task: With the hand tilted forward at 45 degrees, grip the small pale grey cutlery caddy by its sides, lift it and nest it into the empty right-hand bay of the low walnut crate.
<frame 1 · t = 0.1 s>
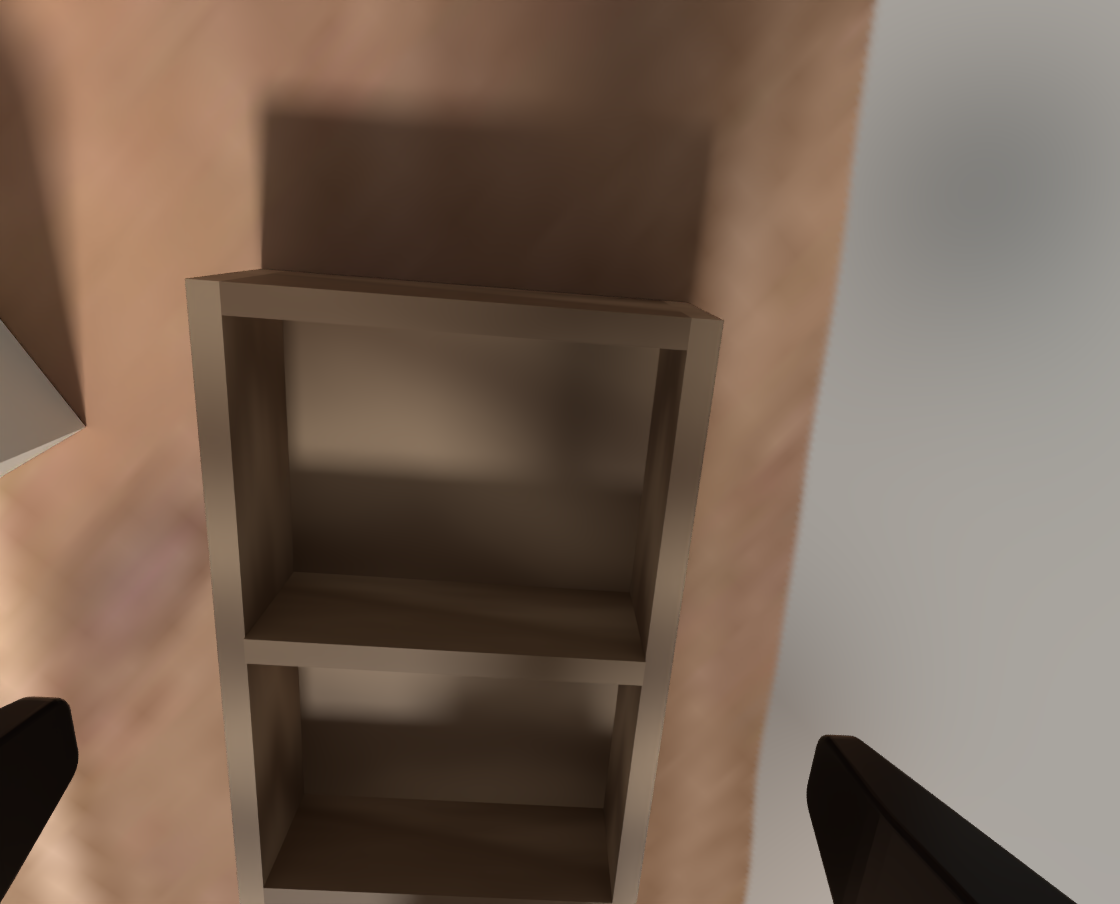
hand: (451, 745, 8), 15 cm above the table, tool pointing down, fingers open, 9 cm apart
crate: (465, 578, 24), on the table
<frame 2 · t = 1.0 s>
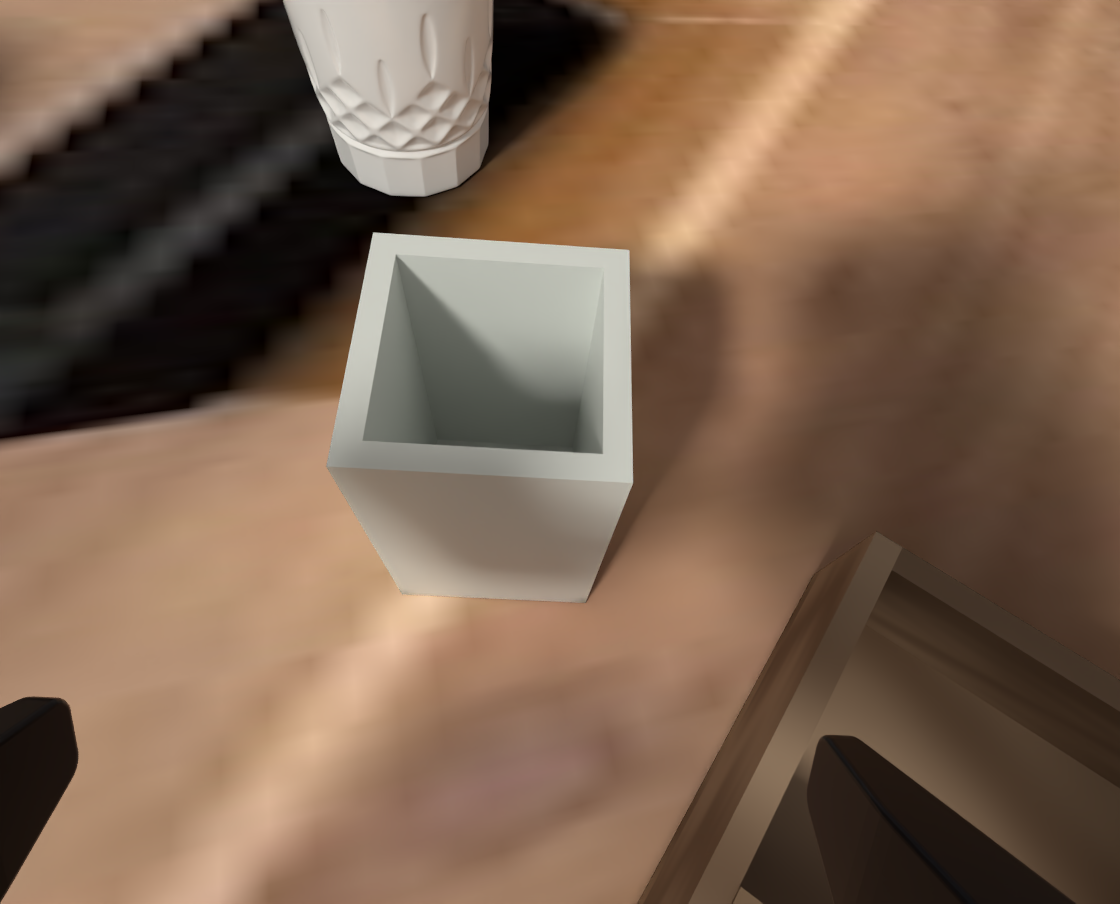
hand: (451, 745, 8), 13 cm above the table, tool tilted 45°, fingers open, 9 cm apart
white cup: (414, 149, 31), on the table
caddy: (500, 512, 24), on the table
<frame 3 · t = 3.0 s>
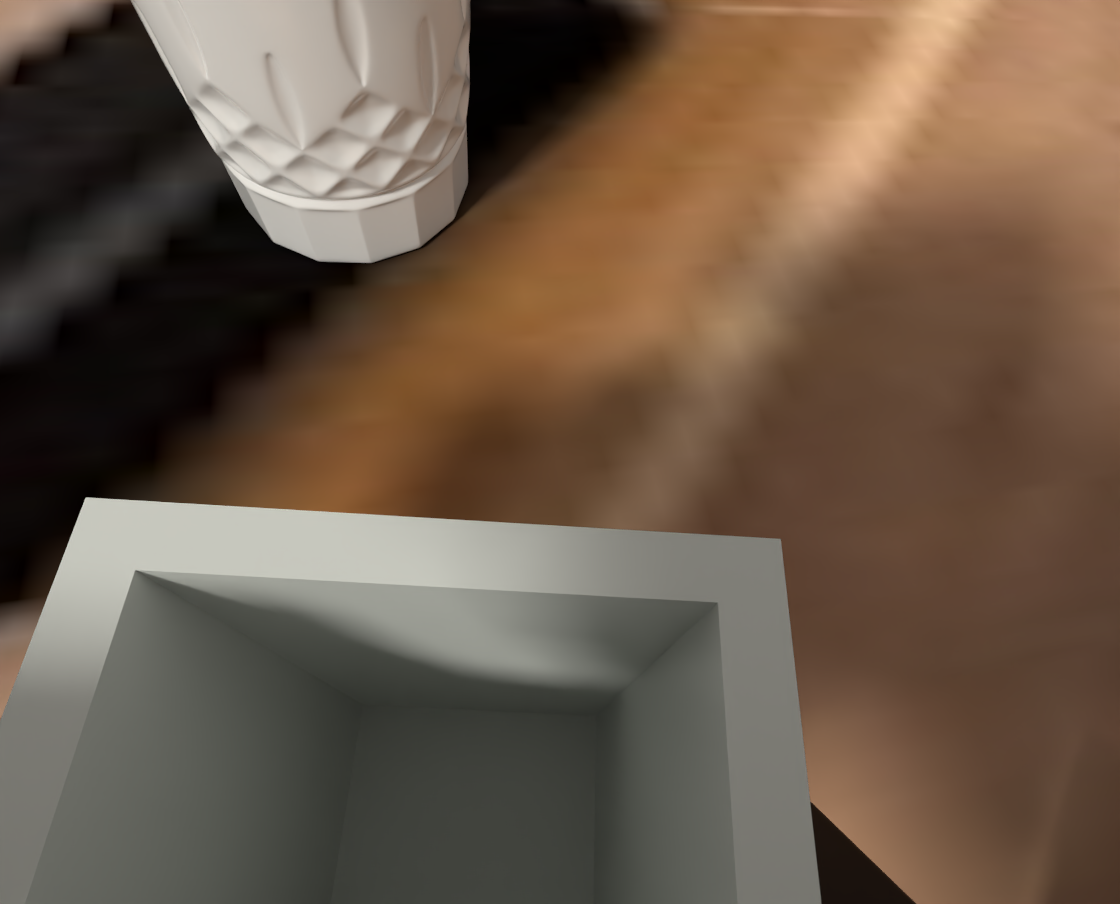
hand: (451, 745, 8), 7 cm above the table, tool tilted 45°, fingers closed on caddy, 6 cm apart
white cup: (360, 189, 21), on the table
caddy: (470, 842, 13), on the table, touching gripper
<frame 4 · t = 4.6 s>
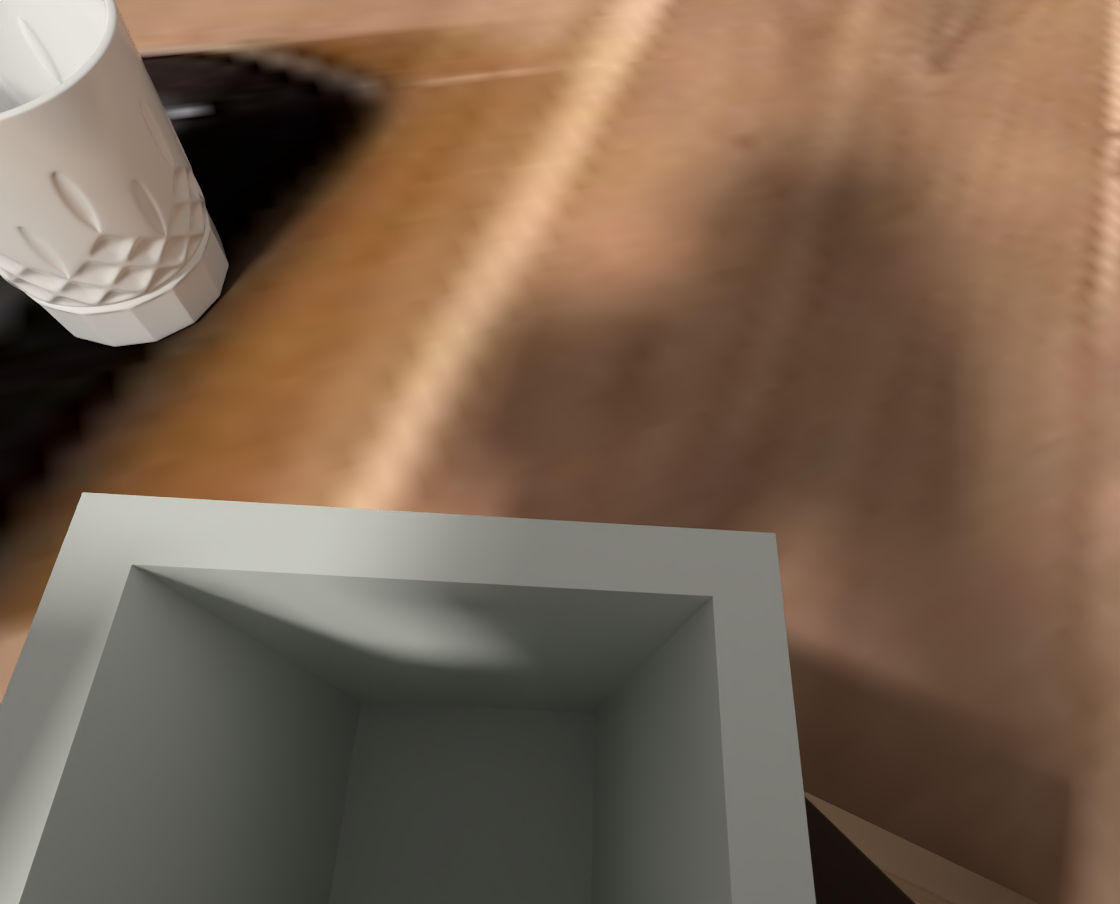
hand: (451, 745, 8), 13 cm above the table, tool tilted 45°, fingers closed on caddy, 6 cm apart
white cup: (144, 281, 27), on the table
caddy: (468, 839, 13), point 7 cm above the table, touching gripper
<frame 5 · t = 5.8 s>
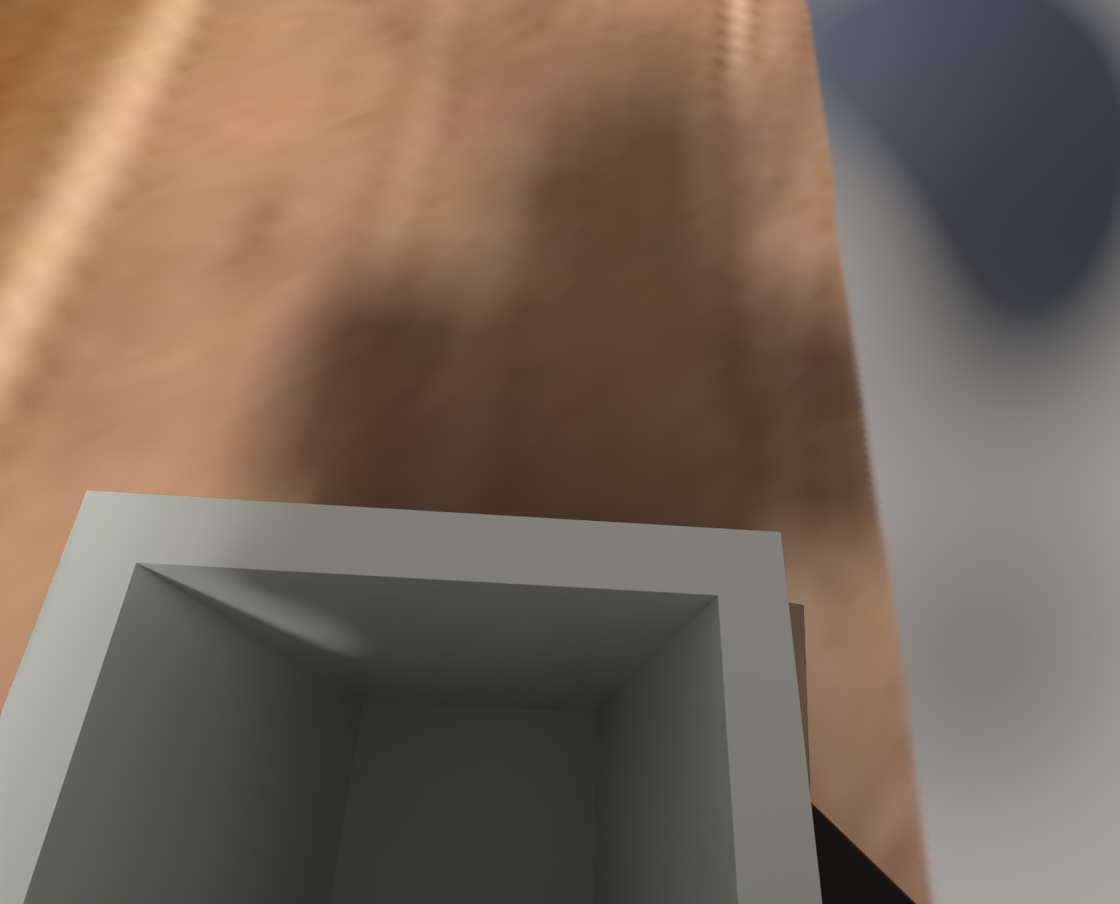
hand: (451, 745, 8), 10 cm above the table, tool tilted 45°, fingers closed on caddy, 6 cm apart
caddy: (470, 839, 13), point 4 cm above the table, touching gripper
when the fingers open (8 cm above the table, at t = 6.6 s): caddy drops 1 cm, resting on crate.
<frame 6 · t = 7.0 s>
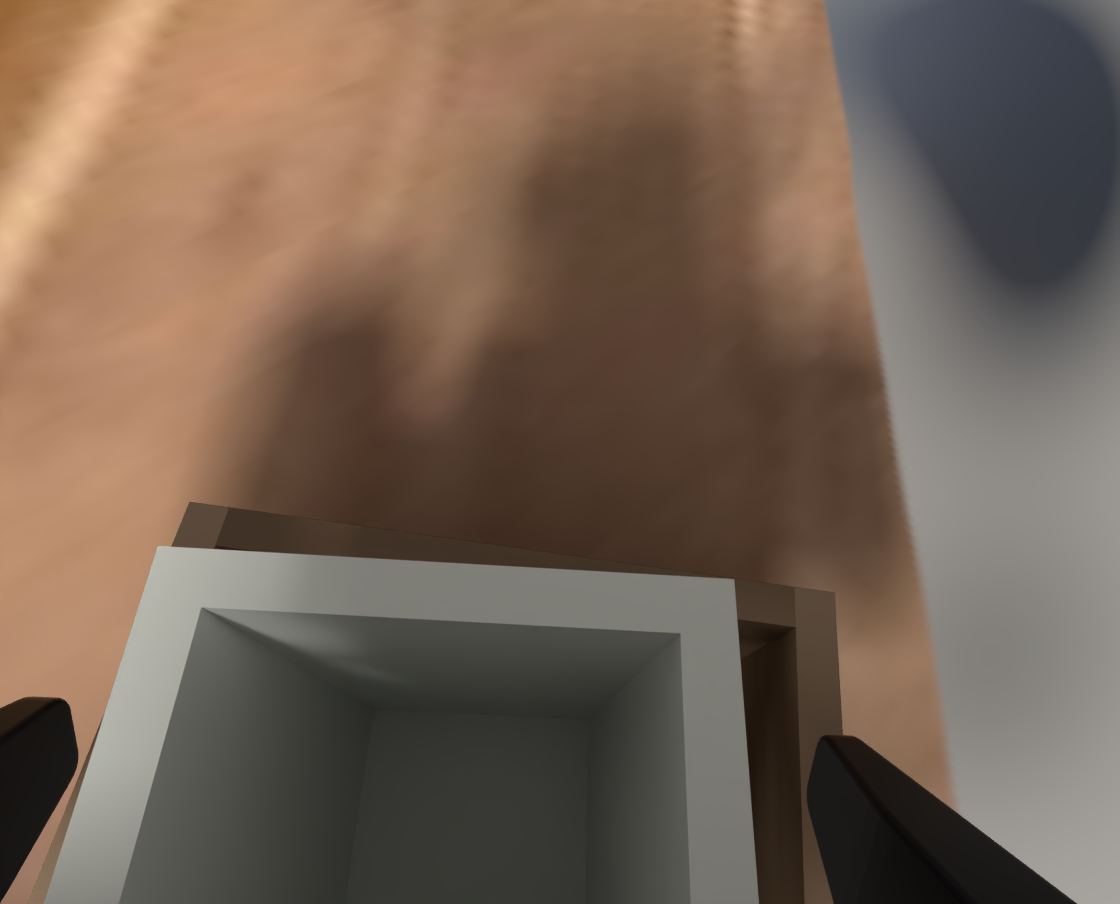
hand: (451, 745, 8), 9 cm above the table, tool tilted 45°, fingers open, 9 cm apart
caddy: (473, 836, 15), point 1 cm above the table, touching crate
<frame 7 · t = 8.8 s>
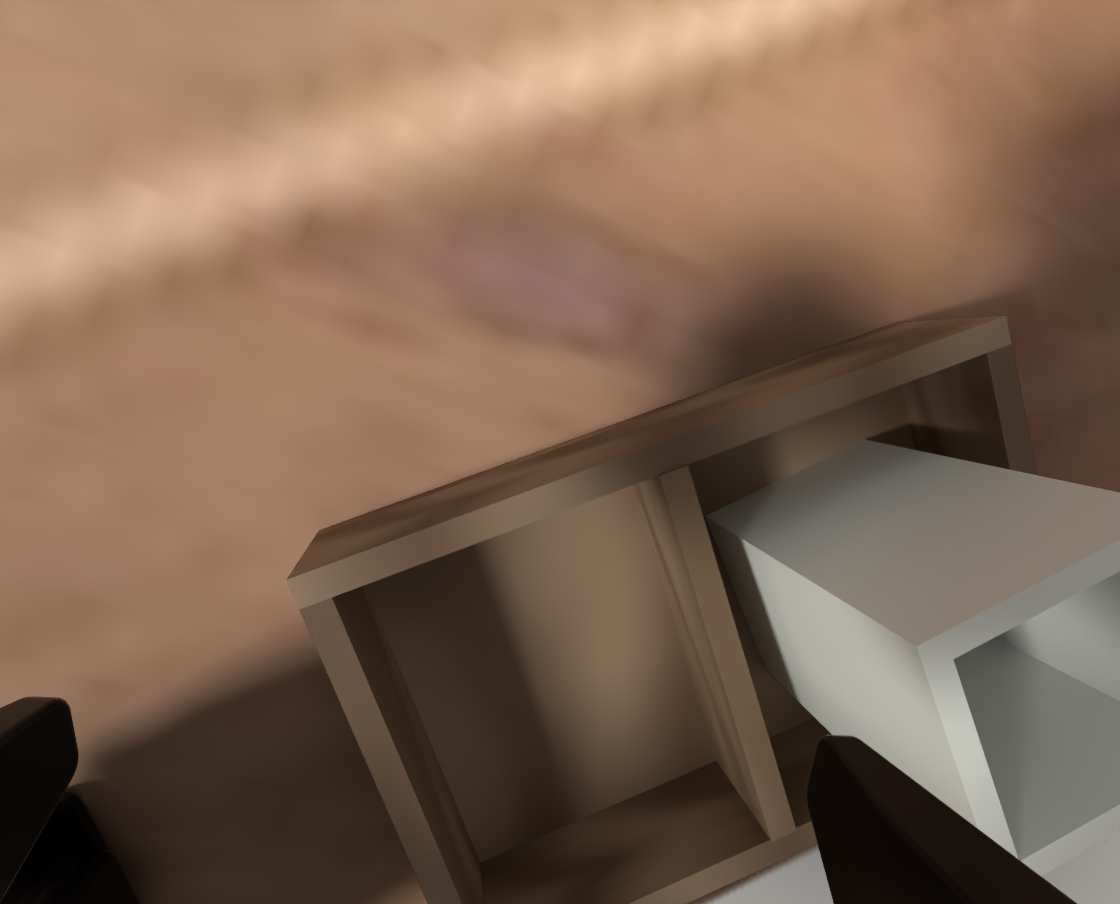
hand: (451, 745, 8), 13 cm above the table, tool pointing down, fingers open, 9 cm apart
caddy: (814, 556, 23), point 1 cm above the table, touching crate
crate: (680, 601, 23), on the table
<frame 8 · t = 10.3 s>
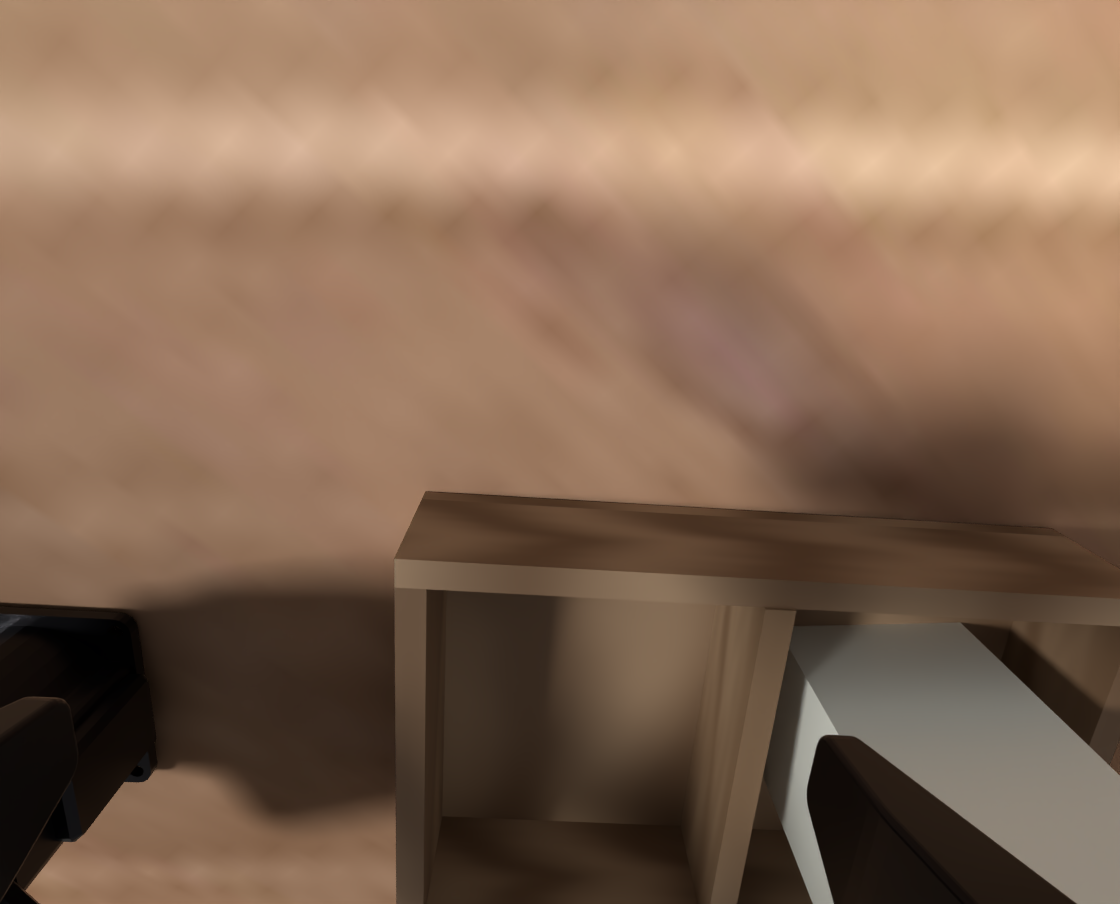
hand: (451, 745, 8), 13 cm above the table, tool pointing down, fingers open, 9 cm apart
caddy: (857, 701, 23), point 1 cm above the table, touching crate
crate: (715, 683, 23), on the table
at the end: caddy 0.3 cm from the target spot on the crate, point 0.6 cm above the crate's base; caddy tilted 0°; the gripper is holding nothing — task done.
